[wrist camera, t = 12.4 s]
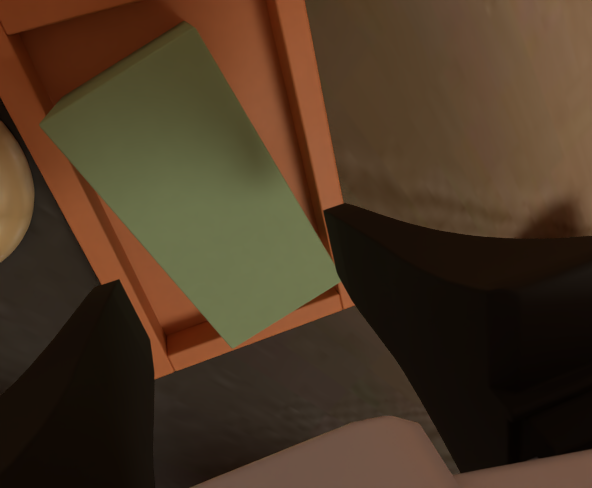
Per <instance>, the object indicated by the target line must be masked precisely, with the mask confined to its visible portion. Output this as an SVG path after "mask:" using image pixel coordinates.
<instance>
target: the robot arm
mask: <svg viewBox="0 0 592 488" xmlns="http://www.w3.org/2000/svg"><path fill="white" fill-rule="evenodd" d="M323 212H324V217H325V222H326V226H327V231H328V235H329V240H330V244H331V249H332V254H333V258H334V263H335V267H336V272H337V274H338V276H339V278H340V280H341V282H342V284H343V286H344V288H345V289H346V291H347V293H348V295H349V297H350V298H351V300H352V302H353V303H354V304H355V306H356V307H357V308H358V310H359V311H360V312H361V314H362V315H363V317H364V318H365V319H366V321H367V322H368V323H369V325H370V326H371V327H372V329H373V330H374V331H375V332H376V334H377V335H378V336H379V338H380V339H381V340H382V342H383V343H384V344H385V346H386V347H387V348H388V350H389V351H390V352H391V354H392V355H393V356H394V358H395V359H396V361H397V362H398V364H399V365H400V367H401V368H402V370H403V371H404V373H405V375H406V376H407V378H408V380H409V381H410V383H411V385H412V386H413V388H414V390H415V392H416V393H417V395H418V397H419V398H420V400H421V402H422V404H423V405H424V407H425V409H426V411H427V412H428V414H429V416H430V418H431V420H432V421H433V423H434V425H435V427H436V428H437V430H438V432H439V434H440V436H441V437H442V439H443V441H444V443H445V445H446V447H447V449H448V450H449V452H450V454H451V456H452V458H453V460H454V461H455V463H456V465H457V467H458V469H459V471H460V474H455V475H452V474H451V472H450V471H449V469H448V468H447V466H446V464H445V463H444V461H443V460H442V458H441V457H440V455H439V453H438V452H437V450H436V449H435V447H434V446H433V444H432V442H431V441H430V439H429V438H428V436H427V435H426V433H425V432H424V430H423V428H422V427H421V425H420V424H419V423H416V422H413V421H409V420H405V419H402V418H398V417H395V416H380V417H376V418H371V419H366V420H361V421H356V422H352V423H349V424H347V425H344V426H342V427H339V428H337V429H334V430H332V431H329V432H327V433H324V434H322V435H319V436H317V437H314V438H312V439H309V440H307V441H304V442H302V443H299V444H297V445H294V446H292V447H289V448H287V449H284V450H282V451H279V452H277V453H275V454H272V455H270V456H267V457H265V458H262V459H260V460H257V461H255V462H252V463H250V464H247V465H245V466H242V467H240V468H237V469H235V470H232V471H230V472H227V473H225V474H222V475H220V476H217V477H215V478H212V479H210V480H207V481H205V482H202V483H200V484H197V485H195V486H192V487H190V488H592V236H583V237H570V238H553V239H513V238H495V237H481V236H472V235H464V234H457V233H451V232H445V231H439V230H434V229H430V228H426V227H422V226H418V225H414V224H410V223H406V222H403V221H399V220H396V219H393V218H390V217H387V216H383V215H380V214H377V213H375V212H372V211H369V210H366V209H363V208H360V207H357V206H354V205H350V204H346V203H343V204H340V205H337V206H334V207H331V208H328V209H325V210H323ZM153 423H154V364H153V356H152V349H151V342H150V338H149V336H148V334H147V332H146V330H145V329H144V327H143V325H142V323H141V321H140V319H139V317H138V315H137V313H136V311H135V309H134V307H133V305H132V303H131V301H130V299H129V297H128V295H127V293H126V291H125V289H124V288H123V286H122V284H121V282H120V280H119V279H118V280H115V281H112V282H109V283H106V284H103V285H100V286H97V287H95V288H94V289H93V290H92V291H91V292H90V293H89V294H88V296H87V297H86V298H85V299H84V301H83V302H82V303H81V304H80V306H79V307H78V308H77V310H76V311H75V312H74V314H73V315H72V316H71V317H70V319H69V320H68V321H67V323H66V324H65V325H64V326H63V328H62V329H61V330H60V332H59V333H58V334H57V335H56V337H55V338H54V339H53V340H52V341H51V343H50V344H49V345H48V346H47V347H46V348H45V350H44V351H43V352H42V353H41V354H40V355H39V357H38V358H37V359H36V360H35V361H34V362H33V364H32V365H31V366H30V367H29V368H28V369H27V370H26V371H25V373H24V374H23V375H22V376H21V377H20V378H19V379H18V380H17V381H16V382H15V383H14V384H13V385H12V386H11V387H10V388H9V389H8V390H7V391H6V392H5V393H4V394H3V395H2V396H1V397H0V488H155V482H154V471H153Z"/></svg>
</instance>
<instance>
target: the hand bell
mask: <svg viewBox="0 0 592 488" xmlns="http://www.w3.org/2000/svg"><path fill="white" fill-rule="evenodd" d="M34 195H35V193H34V184H33V179H32V174H31V170H30V168H29V164H28V161H27V159H26V157H25V154H24V152H23V150H22V149H21V147H20V145H19V143H18V142H17V140H16V139H15V137H14V136H13V134H12V133H11V132H10V130H9V129H8V128H7V127H6V126H5V124H4V123H3V122H2V121H1V120H0V263H1V262H2V261H3V260H4V259H5V258H7V257H8V256H9V255H10V254H11V253H12V252H13V251H14V250H15V249H16V247H17V246H18V245H19V243H20V242H21V240H22V239H23V237H24V235H25V233H26V231H27V230H28V227H29V225H30V221H31V217H32V213H33V207H34Z"/></svg>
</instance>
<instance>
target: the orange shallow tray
mask: <svg viewBox="0 0 592 488" xmlns="http://www.w3.org/2000/svg"><path fill="white" fill-rule="evenodd" d="M182 21H186V22H187V23H189V24H190V25H192V26H193V27H195V28H196V29H197V31H198V33H199V34H200V36H201V38H202V40H203V41H204V43H205V45H206V46H207V48H208V50H209V51H210V53H211V55H212V57H213V58H214V60H215V62H216V63H217V65H218V67H219V68H220V70H221V72H222V74H223V75H224V77H225V79H226V80H227V82H228V84H229V85H230V87H231V89H232V91H233V92H234V94H235V96H236V97H237V99H238V101H239V102H240V104H241V106H242V108H243V109H244V111H245V113H246V114H247V116H248V118H249V119H250V121H251V123H252V125H253V126H254V128H255V130H256V131H257V133H258V135H259V136H260V138H261V140H262V142H263V143H264V145H265V147H266V148H267V150H268V152H269V153H270V155H271V157H272V159H273V160H274V162H275V164H276V165H277V167H278V169H279V170H280V172H281V174H282V176H283V177H284V179H285V181H286V182H287V184H288V186H289V187H290V189H291V191H292V193H293V194H294V196H295V198H296V199H297V201H298V203H299V204H300V206H301V208H302V210H303V211H304V213H305V215H306V216H307V218H308V220H309V221H310V223H311V225H312V227H313V228H314V230H315V232H316V233H317V235H318V237H319V238H320V240H321V242H322V244H323V245H324V247H325V249H326V250H327V252H328V254H329V255H330V257H331V259H332V261H333V262H334V258H333V254H332V249H331V244H330V240H329V235H328V231H327V226H326V222H325V217H324V212H323V210H325V209H328V208H331V207H334V206H337V205H340V204H343V198H342V193H341V188H340V183H339V178H338V172H337V167H336V162H335V157H334V151H333V146H332V141H331V136H330V131H329V125H328V120H327V115H326V110H325V105H324V99H323V94H322V89H321V84H320V78H319V73H318V68H317V63H316V58H315V52H314V47H313V42H312V37H311V32H310V26H309V21H308V16H307V11H306V5H305V0H0V98H1V99H2V101H3V103H4V105H5V107H6V109H7V111H8V112H9V114H10V116H11V118H12V120H13V122H14V124H15V125H16V127H17V129H18V131H19V133H20V135H21V137H22V138H23V140H24V142H25V144H26V146H27V148H28V149H29V151H30V153H31V155H32V157H33V159H34V161H35V162H36V164H37V166H38V168H39V170H40V172H41V174H42V175H43V177H44V179H45V181H46V183H47V185H48V187H49V188H50V190H51V192H52V194H53V196H54V198H55V199H56V201H57V203H58V205H59V207H60V209H61V211H62V212H63V214H64V216H65V218H66V220H67V222H68V224H69V225H70V227H71V229H72V231H73V233H74V235H75V237H76V238H77V240H78V242H79V244H80V246H81V248H82V250H83V251H84V253H85V255H86V257H87V259H88V261H89V262H90V264H91V266H92V268H93V270H94V272H95V274H96V275H97V277H98V279H99V281H100V283H101V285H103V284H106V283H109V282H112V281H115V280H118V279H119V280H120V282H121V284H122V286H123V288H124V289H125V291H126V293H127V295H128V297H129V299H130V301H131V303H132V305H133V307H134V309H135V311H136V313H137V315H138V317H139V319H140V321H141V323H142V325H143V327H144V329H145V330H146V332H147V334H148V336H149V338H150V342H151V349H152V356H153V364H154V379H157V378H160V377H162V376H165V375H168V374H171V373H173V372H174V370H175V371H178V370H181V369H183V368H186V367H189V366H192V365H194V364H197V363H200V362H203V361H205V360H208V359H211V358H213V357H216V356H219V355H222V354H224V353H227V352H230V351H232V350H235V349H238V348H241V347H243V346H246V345H249V344H251V343H254V342H257V341H260V340H262V339H265V338H268V337H270V336H273V335H276V334H279V333H281V332H284V331H287V330H289V329H292V328H295V327H298V326H300V325H303V324H306V323H309V322H311V321H314V320H317V319H319V318H322V317H325V316H328V315H330V314H333V313H336V312H338V311H341V310H342V308H343V309H347V308H349V307H352V306H355V304H354V303H353V302H352V300H351V298H350V297H349V295H348V293H347V291H346V289H345V288H344V286H343V284H342V282H340V283H338V284H336V285H335V286H333V287H332V288H330V289H328V290H327V291H325V292H324V293H322V294H320V295H319V296H317V297H316V298H314V299H312V300H311V301H309V302H307V303H306V304H304V305H303V306H301V307H299V308H298V309H296V310H295V311H293V312H291V313H290V314H288V315H286V316H285V317H283V318H282V319H280V320H278V321H277V322H275V323H274V324H272V325H270V326H269V327H267V328H266V329H264V330H262V331H261V332H259V333H257V334H256V335H254V336H253V337H251V338H249V339H248V340H246V341H245V342H243V343H241V344H240V345H238V346H237V347H235V348H233V349H232V348H231V347H230V346H229V345H228V344H227V343H226V341H225V340H224V339H223V338H222V337H221V336H220V334H219V333H218V332H217V331H216V330H215V329H214V328H213V326H212V325H211V324H210V323H209V322H208V321H207V319H206V318H205V317H204V316H203V315H202V314H201V313H200V311H199V310H198V309H197V308H196V307H195V306H194V304H193V303H192V302H191V301H190V300H189V299H188V297H187V296H186V295H185V294H184V293H183V292H182V291H181V289H180V288H179V287H178V286H177V285H176V284H175V282H174V281H173V280H172V279H171V278H170V277H169V276H168V274H167V273H166V272H165V271H164V270H163V269H162V267H161V266H160V265H159V264H158V263H157V262H156V260H155V259H154V258H153V257H152V256H151V255H150V254H149V252H148V251H147V250H146V249H145V248H144V247H143V245H142V244H141V243H140V242H139V241H138V240H137V239H136V237H135V236H134V235H133V234H132V233H131V232H130V230H129V229H128V228H127V227H126V226H125V225H124V223H123V222H122V221H121V220H120V219H119V218H118V217H117V215H116V214H115V213H114V212H113V211H112V210H111V208H110V207H109V206H108V205H107V204H106V203H105V201H104V200H103V199H102V198H101V197H100V196H99V195H98V193H97V192H96V191H95V190H94V189H93V188H92V186H91V185H90V184H89V183H88V182H87V181H86V180H85V178H84V177H83V176H82V175H81V174H80V173H79V171H78V170H77V169H76V168H75V167H74V166H73V164H72V163H71V162H70V161H69V160H68V159H67V158H66V156H65V155H64V154H63V153H62V152H61V151H60V149H59V148H58V147H57V146H56V145H55V144H54V143H53V141H52V140H51V139H50V138H49V137H48V136H47V134H46V133H45V132H44V131H43V130H42V129H41V127H40V126H39V123H40V122H41V121H42V120H43V119H44V117H45V116H46V115H47V114H48V113H49V112H50V110H51V109H52V108H53V107H54V106H55V105H56V103H57V102H58V101H59V100H60V99H61V98H62V97H63V96H64V95H66V94H68V93H69V92H71V91H72V90H74V89H76V88H77V87H79V86H80V85H82V84H84V83H85V82H87V81H88V80H90V79H91V78H93V77H95V76H96V75H98V74H99V73H101V72H103V71H104V70H106V69H107V68H109V67H111V66H112V65H114V64H115V63H117V62H119V61H120V60H122V59H123V58H125V57H127V56H128V55H130V54H131V53H133V52H134V51H136V50H138V49H139V48H141V47H142V46H144V45H146V44H147V43H149V42H150V41H152V40H154V39H155V38H157V37H158V36H160V35H162V34H163V33H165V32H166V31H168V30H170V29H171V28H173V27H174V26H176V25H177V24H179V23H181V22H182ZM334 264H335V263H334Z"/></svg>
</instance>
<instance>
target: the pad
mask: <svg viewBox="0 0 592 488" xmlns="http://www.w3.org/2000/svg"><path fill="white" fill-rule="evenodd" d="M39 126H40V127H41V129H42V130H43V131H44V132H45V133H46V134H47V136H48V137H49V138H50V139H51V140H52V141H53V143H54V144H55V145H56V146H57V147H58V148H59V149H60V151H61V152H62V153H63V154H64V155H65V156H66V158H67V159H68V160H69V161H70V162H71V163H72V164H73V166H74V167H75V168H76V169H77V170H78V171H79V173H80V174H81V175H82V176H83V177H84V178H85V180H86V181H87V182H88V183H89V184H90V185H91V186H92V188H93V189H94V190H95V191H96V192H97V193H98V195H99V196H100V197H101V198H102V199H103V200H104V201H105V203H106V204H107V205H108V206H109V207H110V208H111V210H112V211H113V212H114V213H115V214H116V215H117V217H118V218H119V219H120V220H121V221H122V222H123V223H124V225H125V226H126V227H127V228H128V229H129V230H130V232H131V233H132V234H133V235H134V236H135V237H136V239H137V240H138V241H139V242H140V243H141V244H142V245H143V247H144V248H145V249H146V250H147V251H148V252H149V254H150V255H151V256H152V257H153V258H154V259H155V260H156V262H157V263H158V264H159V265H160V266H161V267H162V269H163V270H164V271H165V272H166V273H167V274H168V276H169V277H170V278H171V279H172V280H173V281H174V282H175V284H176V285H177V286H178V287H179V288H180V289H181V291H182V292H183V293H184V294H185V295H186V296H187V297H188V299H189V300H190V301H191V302H192V303H193V304H194V306H195V307H196V308H197V309H198V310H199V311H200V313H201V314H202V315H203V316H204V317H205V318H206V319H207V321H208V322H209V323H210V324H211V325H212V326H213V328H214V329H215V330H216V331H217V332H218V333H219V334H220V336H221V337H222V338H223V339H224V340H225V341H226V343H227V344H228V345H229V346H230V347H231V348H232V349H233V348H235V347H237V346H238V345H240V344H241V343H243V342H245V341H246V340H248V339H249V338H251V337H253V336H254V335H256V334H257V333H259V332H261V331H262V330H264V329H266V328H267V327H269V326H270V325H272V324H274V323H275V322H277V321H278V320H280V319H282V318H283V317H285V316H286V315H288V314H290V313H291V312H293V311H295V310H296V309H298V308H299V307H301V306H303V305H304V304H306V303H307V302H309V301H311V300H312V299H314V298H316V297H317V296H319V295H320V294H322V293H324V292H325V291H327V290H328V289H330V288H332V287H333V286H335V285H336V284H338V283H340V282H341V280H340V278H339V276H338V274H337V272H336V267H335V264H334V262H333V261H332V259H331V257H330V255H329V254H328V252H327V250H326V249H325V247H324V245H323V244H322V242H321V240H320V238H319V237H318V235H317V233H316V232H315V230H314V228H313V227H312V225H311V223H310V221H309V220H308V218H307V216H306V215H305V213H304V211H303V210H302V208H301V206H300V204H299V203H298V201H297V199H296V198H295V196H294V194H293V193H292V191H291V189H290V187H289V186H288V184H287V182H286V181H285V179H284V177H283V176H282V174H281V172H280V170H279V169H278V167H277V165H276V164H275V162H274V160H273V159H272V157H271V155H270V153H269V152H268V150H267V148H266V147H265V145H264V143H263V142H262V140H261V138H260V136H259V135H258V133H257V131H256V130H255V128H254V126H253V125H252V123H251V121H250V119H249V118H248V116H247V114H246V113H245V111H244V109H243V108H242V106H241V104H240V102H239V101H238V99H237V97H236V96H235V94H234V92H233V91H232V89H231V87H230V85H229V84H228V82H227V80H226V79H225V77H224V75H223V74H222V72H221V70H220V68H219V67H218V65H217V63H216V62H215V60H214V58H213V57H212V55H211V53H210V51H209V50H208V48H207V46H206V45H205V43H204V41H203V40H202V38H201V36H200V34H199V33H198V31H197V29H196V28H195V27H193V26H192V25H190V24H189V23H187V22H186V21H182V22H181V23H179V24H177V25H176V26H174V27H173V28H171V29H170V30H168V31H166V32H165V33H163V34H162V35H160V36H158V37H157V38H155V39H154V40H152V41H150V42H149V43H147V44H146V45H144V46H142V47H141V48H139V49H138V50H136V51H134V52H133V53H131V54H130V55H128V56H127V57H125V58H123V59H122V60H120V61H119V62H117V63H115V64H114V65H112V66H111V67H109V68H107V69H106V70H104V71H103V72H101V73H99V74H98V75H96V76H95V77H93V78H91V79H90V80H88V81H87V82H85V83H84V84H82V85H80V86H79V87H77V88H76V89H74V90H72V91H71V92H69V93H68V94H66V95H64V96H63V97H62V98H61V99H60V100H59V101H58V102H57V103H56V105H55V106H54V107H53V108H52V109H51V110H50V112H49V113H48V114H47V115H46V116H45V117H44V119H43V120H42V121H41V122H40V123H39Z"/></svg>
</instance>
